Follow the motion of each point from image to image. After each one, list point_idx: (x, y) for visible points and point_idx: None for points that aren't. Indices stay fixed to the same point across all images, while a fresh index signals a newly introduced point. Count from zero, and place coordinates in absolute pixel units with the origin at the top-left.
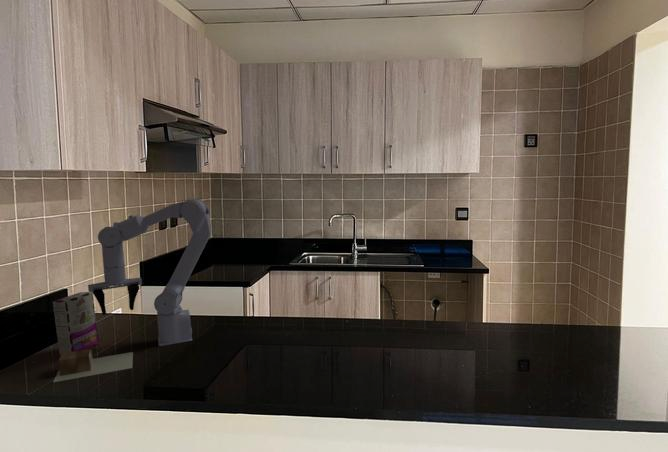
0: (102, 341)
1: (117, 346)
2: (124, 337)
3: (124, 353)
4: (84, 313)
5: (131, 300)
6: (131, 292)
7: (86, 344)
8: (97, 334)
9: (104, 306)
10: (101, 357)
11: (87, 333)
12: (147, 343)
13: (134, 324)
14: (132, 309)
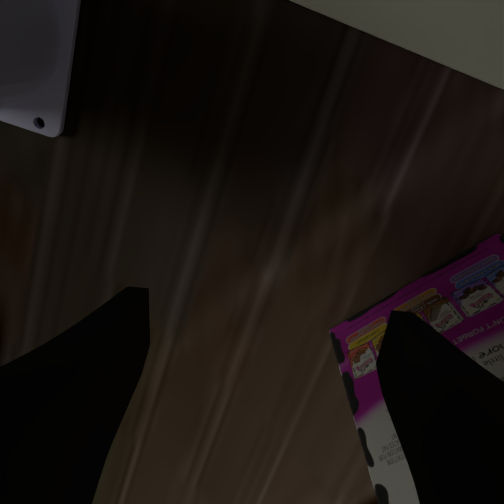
0: (300, 353)
1: (280, 214)
2: (203, 333)
3: (311, 7)
4: None
5: (103, 339)
6: (36, 413)
7: (414, 299)
8: (339, 361)
9: (444, 356)
10: (434, 57)
11: None
12: (134, 120)
13: (114, 472)
14: (133, 289)
